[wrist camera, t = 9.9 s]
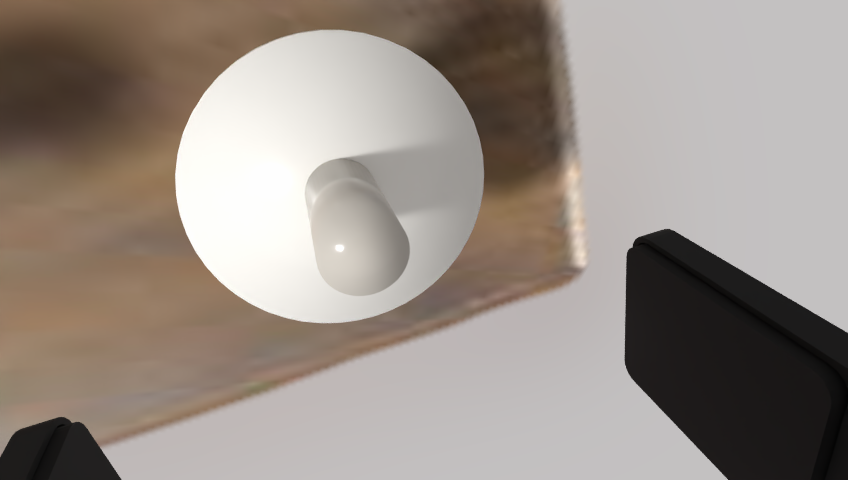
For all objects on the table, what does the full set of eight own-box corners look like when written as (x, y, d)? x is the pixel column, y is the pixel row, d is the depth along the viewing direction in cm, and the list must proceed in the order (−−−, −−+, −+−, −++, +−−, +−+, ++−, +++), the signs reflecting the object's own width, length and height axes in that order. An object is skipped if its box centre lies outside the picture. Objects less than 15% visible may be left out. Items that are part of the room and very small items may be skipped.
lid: (123, 69, 16) (53, 102, 11) (454, -2, 18) (530, -2, 13) (240, 345, 21) (230, 458, 16) (491, 270, 23) (557, 350, 18)
